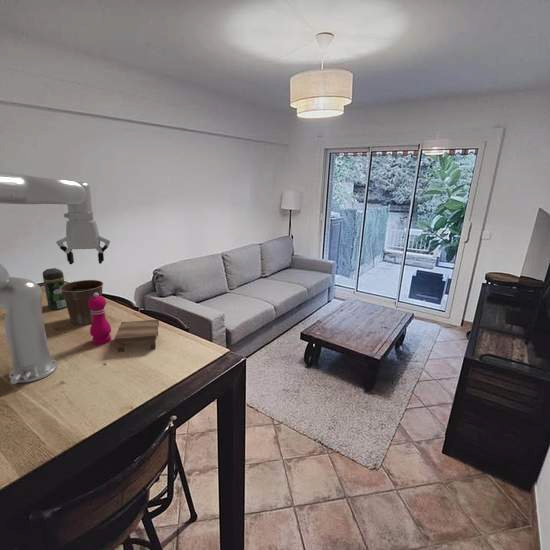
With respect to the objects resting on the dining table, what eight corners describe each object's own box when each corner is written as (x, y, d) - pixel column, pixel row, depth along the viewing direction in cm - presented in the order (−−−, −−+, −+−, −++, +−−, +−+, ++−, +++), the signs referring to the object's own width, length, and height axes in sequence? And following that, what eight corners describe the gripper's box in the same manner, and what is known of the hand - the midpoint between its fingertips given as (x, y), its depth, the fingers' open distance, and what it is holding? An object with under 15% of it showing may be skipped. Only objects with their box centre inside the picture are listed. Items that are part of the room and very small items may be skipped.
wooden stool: (156, 349, 120) (155, 335, 118) (115, 353, 116) (114, 338, 115) (159, 332, 133) (158, 319, 131) (123, 335, 129) (121, 322, 128)
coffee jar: (46, 305, 155) (40, 268, 150) (65, 301, 160) (60, 266, 155) (50, 311, 149) (43, 273, 143) (70, 307, 154) (64, 270, 148)
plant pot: (69, 314, 147) (64, 280, 142) (109, 310, 152) (105, 278, 148) (61, 329, 132) (55, 293, 128) (105, 325, 138) (100, 289, 133)
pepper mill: (116, 337, 128) (110, 290, 122) (105, 346, 121) (98, 296, 115) (99, 335, 128) (92, 288, 123) (87, 344, 122) (80, 295, 116)
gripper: (49, 217, 109) (56, 266, 114) (105, 218, 115) (110, 264, 119) (56, 215, 116) (63, 261, 121) (109, 216, 122) (113, 260, 126)
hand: (86, 263), depth 120 cm, fingers open, 9 cm apart
